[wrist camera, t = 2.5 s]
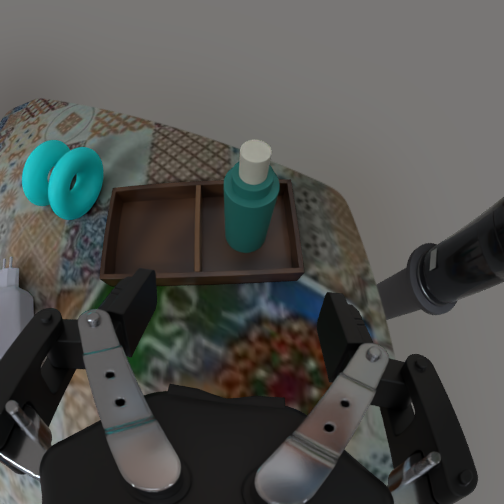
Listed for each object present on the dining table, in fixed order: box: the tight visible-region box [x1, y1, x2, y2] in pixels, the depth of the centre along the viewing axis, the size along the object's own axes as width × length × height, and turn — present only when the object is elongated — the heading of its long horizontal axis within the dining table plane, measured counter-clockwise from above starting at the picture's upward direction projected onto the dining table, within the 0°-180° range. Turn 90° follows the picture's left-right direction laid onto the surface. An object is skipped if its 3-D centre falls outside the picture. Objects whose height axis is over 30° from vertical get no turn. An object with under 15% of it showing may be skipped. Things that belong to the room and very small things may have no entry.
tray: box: [100, 179, 304, 287], centre depth 33 cm, size 23×12×4 cm, turn 94°
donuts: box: [22, 140, 103, 220], centre depth 31 cm, size 10×10×10 cm
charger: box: [0, 257, 34, 359], centre depth 26 cm, size 5×9×15 cm
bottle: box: [224, 140, 280, 253], centre depth 27 cm, size 5×5×16 cm
